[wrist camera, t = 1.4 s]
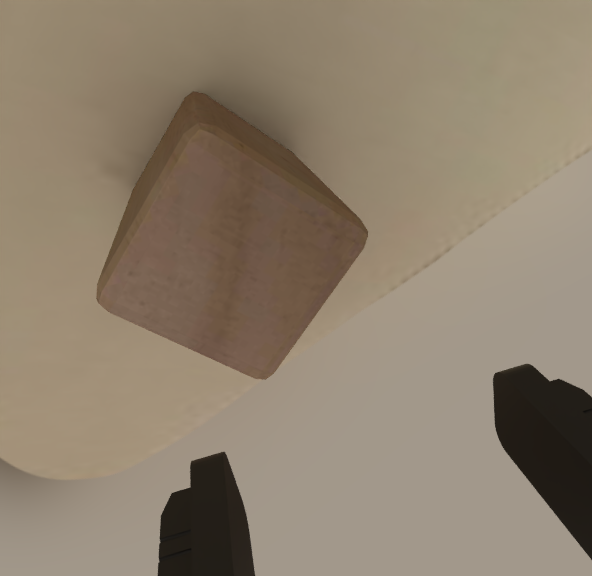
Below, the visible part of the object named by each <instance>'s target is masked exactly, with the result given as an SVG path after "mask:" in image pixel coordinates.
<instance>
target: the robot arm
mask: <svg viewBox="0 0 592 576" xmlns="http://www.w3.org/2000/svg"><path fill="white" fill-rule="evenodd" d="M493 388H494V413H495V427H496V432H497V435H498V438H499V440H500V442H501V444H502V446H503V448H504V450H505V451H506V452H507V454H508V455H509V456H510V457H511V459H512V460H513V461H514V463H515V464H516V465H517V466H518V468H519V469H520V470H521V471H522V472H523V474H524V475H525V476H526V478H527V479H528V480H529V481H530V483H531V484H532V485H533V486H534V488H535V489H536V490H537V492H538V493H539V494H540V495H541V497H542V498H543V499H544V500H545V502H546V503H547V504H548V505H549V507H550V508H551V509H552V510H553V511H554V513H555V514H556V515H557V517H558V518H559V519H560V520H561V522H562V523H563V524H564V525H565V527H566V528H567V529H568V531H569V532H570V533H571V534H572V536H573V537H574V538H575V539H576V541H577V542H578V543H579V544H580V546H581V547H582V548H583V549H584V551H585V552H586V553H587V554H588V556H589V557H590V558H591V560H592V397H591V396H590V395H588V394H587V393H586V392H585V391H584V390H582V389H580V388H578V387H576V386H573V385H571V384H569V383H567V382H565V381H562V380H560V379H557V380H553V381H549V380H548V379H546V378H545V377H544V376H543V375H542V374H541V373H540V372H539V371H538V370H537V369H536V368H534V367H533V366H532V365H530V364H524V365H521V366H517V367H514V368H510V369H507V370H504V371H501V372H497V373H495V374H494V378H493ZM190 469H191V471H190V472H191V473H190V474H191V475H190V476H191V477H190V479H191V488H187V489H184V490H180V491H177V492H174V493H172V494H171V496H170V498H169V500H168V502H167V504H166V506H165V508H164V511H163V513H162V515H161V526H160V542H161V543H160V545H159V561H160V562H159V563H158V576H255V572H254V565H253V557H252V549H251V541H250V534H249V528H248V521H247V516H246V512H245V509H244V505H243V501H242V498H241V495H240V492H239V489H238V487H237V484H236V481H235V478H234V475H233V472H232V469H231V466H230V464H229V461H228V458H227V455H226V454H225V452H221V453H218V454H214V455H211V456H208V457H204V458H201V459H197V460H194V461H191V466H190Z"/></svg>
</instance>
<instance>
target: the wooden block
mask: <svg viewBox="0 0 592 576" xmlns="http://www.w3.org/2000/svg"><path fill="white" fill-rule="evenodd" d="M367 237H368V231H367V229H366V228H365V226H364V224H363V223H362V221H361V220H360V218H359V217H358V216H357V215H356V214H354V213H353V212H352V211H351V210H350V209H349V208H348V207H347V206H346V205H345V204H344V203H343V202H342V201H341V200H340V199H339V198H338V197H337V196H336V195H335V194H334V193H333V192H332V191H331V190H330V189H329V188H328V187H327V186H326V185H325V184H324V183H323V182H322V181H321V180H320V179H319V178H318V177H317V176H316V175H315V174H314V173H313V172H312V171H311V170H310V169H309V168H308V167H307V166H306V165H304V164H303V163H302V162H301V161H300V160H299V159H298V158H297V157H296V156H295V155H294V154H293V153H292V152H290V151H289V150H287V149H286V148H284V147H283V146H281V145H280V144H278V143H277V142H276V141H274V140H273V139H271V138H270V137H268V136H267V135H265V134H264V133H262V132H261V131H259V130H258V129H256V128H255V127H253V126H252V125H250V124H249V123H247V122H246V121H244V120H243V119H241V118H240V117H238V116H237V115H235V114H234V113H232V112H231V111H229V110H228V109H226V108H225V107H223V106H222V105H220V104H219V103H217V102H216V101H214V100H213V99H211V98H210V97H208V96H207V95H205V94H203V93H198V92H192V93H191V94H190V95H188V96H187V97H186V98H185V99H184V101H183V102H182V104H181V106H180V108H179V110H178V111H177V113H176V115H175V117H174V118H173V120H172V122H171V124H170V125H169V127H168V129H167V131H166V133H165V134H164V136H163V138H162V140H161V141H160V143H159V145H158V147H157V148H156V150H155V152H154V154H153V156H152V157H151V159H150V161H149V163H148V164H147V166H146V168H145V170H144V172H143V173H142V175H141V177H140V179H139V180H138V182H137V184H136V186H135V187H134V189H133V192H132V194H131V197H130V199H129V202H128V205H127V207H126V210H125V213H124V215H123V218H122V220H121V223H120V226H119V228H118V231H117V234H116V236H115V239H114V241H113V244H112V247H111V249H110V252H109V255H108V257H107V260H106V262H105V265H104V268H103V270H102V273H101V276H100V278H99V281H98V284H97V298H96V299H97V301H98V303H99V304H100V305H101V306H102V307H104V308H105V309H106V310H107V311H108V312H110V313H112V314H114V315H116V316H119V317H121V318H123V319H125V320H127V321H130V322H132V323H134V324H136V325H138V326H141V327H143V328H145V329H147V330H149V331H152V332H154V333H156V334H158V335H160V336H163V337H165V338H167V339H169V340H171V341H174V342H176V343H178V344H180V345H182V346H185V347H187V348H189V349H191V350H193V351H196V352H198V353H200V354H202V355H204V356H207V357H209V358H211V359H213V360H215V361H218V362H220V363H222V364H224V365H226V366H229V367H231V368H233V369H235V370H237V371H240V372H242V373H244V374H246V375H248V376H251V377H253V378H255V379H267V378H268V377H270V376H271V375H272V374H274V372H275V371H276V370H277V368H278V367H279V365H280V364H281V363H282V361H283V360H284V358H285V357H286V356H287V354H288V353H289V352H290V350H291V349H292V347H293V346H294V345H295V343H296V342H297V340H298V339H299V338H300V336H301V335H302V333H303V332H304V331H305V329H306V328H307V326H308V325H309V324H310V322H311V321H312V319H313V318H314V317H315V315H316V314H317V312H318V311H319V310H320V308H321V307H322V306H323V304H324V303H325V301H326V300H327V299H328V297H329V296H330V294H331V293H332V292H333V290H334V289H335V287H336V286H337V285H338V283H339V282H340V280H341V279H342V278H343V276H344V275H345V273H346V272H347V271H348V269H349V268H350V266H351V265H352V264H353V262H354V261H355V260H356V258H357V257H358V255H359V254H360V253H361V251H362V250H363V248H364V246H365V243H366V240H367Z"/></svg>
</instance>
